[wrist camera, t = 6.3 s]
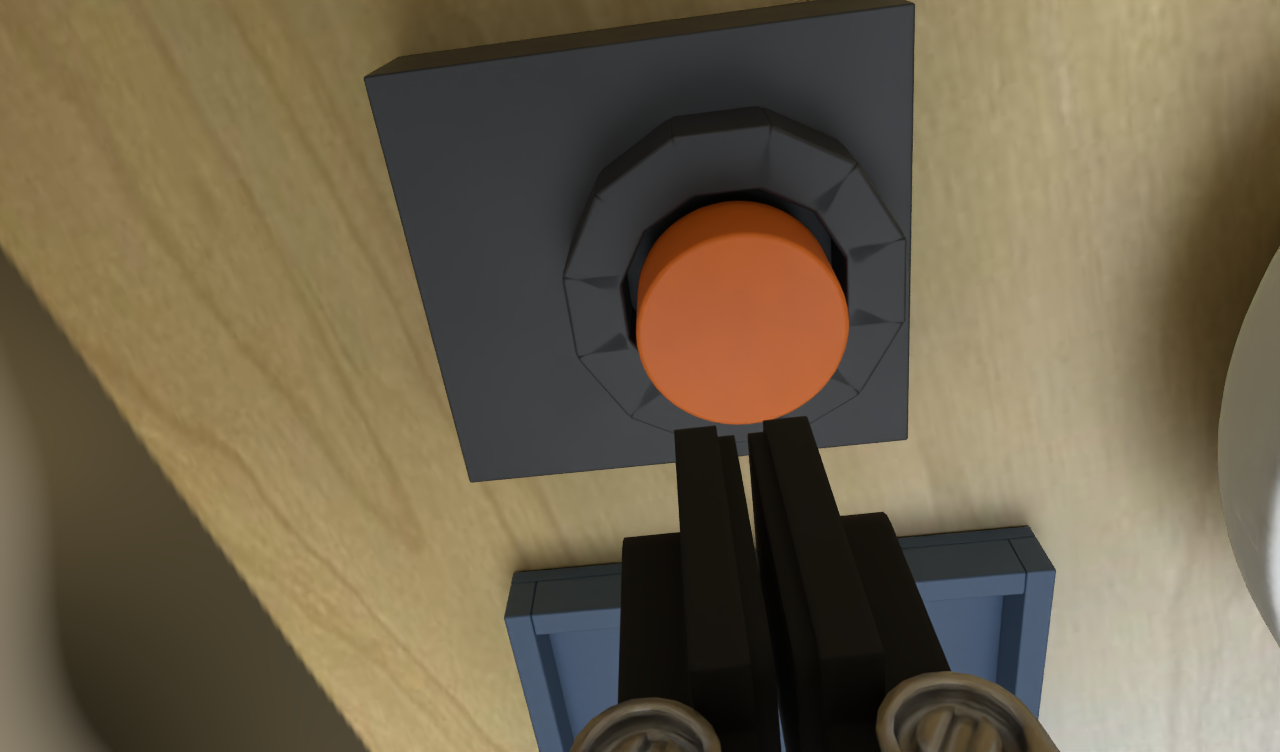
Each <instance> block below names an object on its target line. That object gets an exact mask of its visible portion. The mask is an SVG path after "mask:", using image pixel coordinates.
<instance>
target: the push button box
mask: <svg viewBox="0 0 1280 752" xmlns="http://www.w3.org/2000/svg"><path fill="white" fill-rule="evenodd" d="M914 34H915V4H914V3H912V2H909V1H907V0H816V1H808V2H801V3H794V4H786V5H779V6H771V7H764V8H757V9H749V10H742V11H734V12H727V13H720V14H712V15H705V16H698V17H690V18H683V19H675V20H668V21H661V22H653V23H646V24H638V25H631V26H624V27H616V28H609V29H601V30H594V31H587V32H579V33H572V34H565V35H557V36H550V37H542V38H535V39H528V40H520V41H513V42H505V43H498V44H491V45H483V46H476V47H469V48H461V49H454V50H446V51H439V52H432V53H424V54H417V55H409V56H402V57H398V58H396V59H394V60H392V61H391V62H389V63H387V64H385V65H384V66H382V67H380V68H378V69H377V70H375V71H373V72H372V73H370V74H368V75H366V76H365V77H364V82H365V86H366V90H367V94H368V97H369V101H370V105H371V109H372V113H373V116H374V120H375V124H376V128H377V132H378V135H379V139H380V143H381V147H382V150H383V154H384V158H385V162H386V166H387V169H388V173H389V177H390V181H391V185H392V188H393V192H394V196H395V200H396V204H397V207H398V211H399V215H400V219H401V222H402V226H403V230H404V234H405V238H406V241H407V245H408V249H409V253H410V257H411V260H412V264H413V268H414V272H415V275H416V279H417V283H418V287H419V291H420V294H421V298H422V302H423V306H424V310H425V313H426V317H427V321H428V325H429V329H430V332H431V336H432V340H433V344H434V347H435V351H436V355H437V359H438V363H439V366H440V370H441V374H442V378H443V382H444V385H445V389H446V393H447V397H448V400H449V404H450V408H451V412H452V416H453V419H454V423H455V427H456V431H457V435H458V438H459V442H460V446H461V450H462V454H463V457H464V461H465V465H466V469H467V472H468V476H469V480H470V482H482V481H492V480H502V479H512V478H522V477H533V476H543V475H553V474H563V473H573V472H583V471H594V470H604V469H614V468H624V467H634V466H645V465H655V464H665V463H675V462H676V457H675V441H674V430H677V429H686V428H696V427H705V426H714V425H716V428H717V435H718V436H727V435H734V436H735V441H736V447H737V453H738V456H746V455H749V450H748V433H755V432H763V422H759V423H753V424H739V425H735V424H722V423H717V422H711V421H708V420H705V419H701V418H698V417H696V416H694V415H692V414H689V413H687V412H685V411H684V410H682V409H680V408H679V407H677V406H676V405H674V404H673V403H672V402H671V401H669V400H668V399H667V398H666V397H665V396H664V395H663V394H662V393H661V392H660V391H659V390H658V389H657V388H656V387H655V385H654V384H653V383H652V381H651V380H650V379H649V377H648V375H647V373H646V371H645V369H644V367H643V365H642V362H641V359H640V357H639V352H638V348H637V340H636V319H637V298H638V283H639V278H640V273H641V269H642V267H643V264H644V261H645V259H646V257H647V255H648V253H649V251H650V249H651V248H652V246H653V245H654V243H655V242H656V241H657V239H658V238H659V237H660V236H661V235H662V234H663V233H664V232H665V230H666V229H667V228H669V227H670V226H671V225H672V224H673V223H675V222H676V221H677V220H679V219H680V218H682V217H683V216H685V215H687V214H688V213H690V212H693V211H695V210H697V209H699V208H701V207H705V206H708V205H711V204H715V203H720V202H726V201H752V202H758V203H762V204H767V205H770V206H773V207H775V208H778V209H780V210H782V211H784V212H786V213H788V214H790V215H791V216H793V217H794V218H796V219H797V220H799V221H800V222H801V223H802V224H803V225H804V226H805V227H807V228H808V229H809V230H810V232H811V233H812V234H813V235H814V237H815V238H816V239H817V241H818V242H819V244H820V246H821V247H822V249H823V251H824V253H825V255H826V257H827V259H828V261H829V263H830V265H831V267H832V269H833V271H834V273H835V275H836V277H837V279H838V281H839V283H840V286H841V288H842V290H843V293H844V295H845V299H846V303H847V307H848V315H849V333H848V339H847V344H846V348H845V351H844V354H843V356H842V359H841V361H840V363H839V365H838V367H837V369H836V371H835V372H834V374H833V375H832V377H831V378H830V380H829V381H828V382H827V384H826V385H825V386H824V387H823V388H822V389H821V390H820V391H819V392H818V393H817V394H816V395H815V396H814V397H813V398H811V399H810V400H809V401H808V402H806V403H805V404H803V405H802V406H800V407H799V408H797V409H795V410H793V411H791V412H790V413H788V414H785V415H783V416H780V417H778V418H775V419H780V418H789V417H798V416H807V418H808V420H809V423H810V426H811V429H812V432H813V435H814V438H815V441H816V444H817V447H818V448H828V447H838V446H848V445H858V444H869V443H879V442H889V441H899V440H907V438H908V389H909V330H910V271H911V211H912V152H913V93H914Z"/></svg>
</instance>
